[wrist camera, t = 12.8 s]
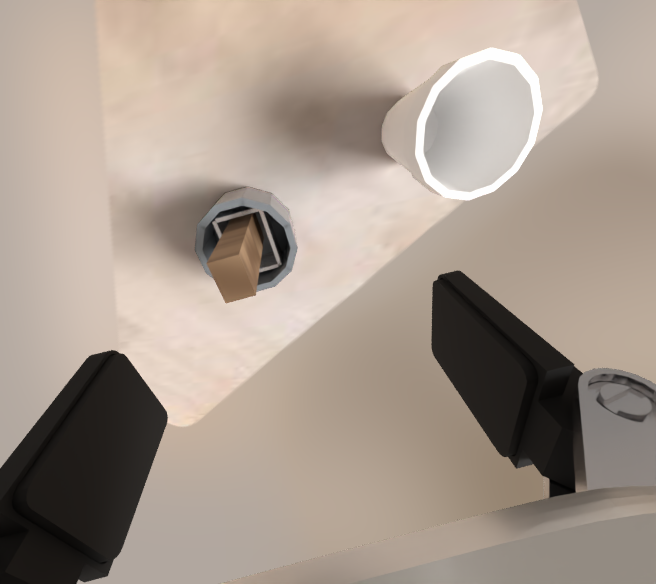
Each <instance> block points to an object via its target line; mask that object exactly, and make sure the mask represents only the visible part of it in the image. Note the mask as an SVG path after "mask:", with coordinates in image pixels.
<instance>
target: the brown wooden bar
mask: <svg viewBox="0 0 656 584" xmlns="http://www.w3.org/2000/svg"><path fill="white" fill-rule="evenodd" d="M263 242H264V236H263V233H262V230H261V227H260V225H259V222H258V219H257V216H256V213H255V212H254V213H251V214H247V215H243V216H240V217H236V218H233V219H230V221H229V223H228V225H227V227H226V229H225V230H224V232H223V234H222V236H221V238H220V240H219V241H218V243H217V245H216V247H215V249H214V250H213V252H212V254H211V256H210V258H209V260H208V261H207V263H206V264H207V266H208V268H209V270H210V272H211V274H212V276H213V278H214V280H215V282H216V284H217V286H218V288H219V290H220V292H221V294H222V296H223V298H224V301H225V303H229V302H233V301H236V300H240V299H244V298H247V297H251V296H255V295H256V290H257V283H258V277H259V270H260V263H261V256H262V249H263Z"/></svg>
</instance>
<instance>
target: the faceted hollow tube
mask: <svg viewBox="0 0 656 584" xmlns="http://www.w3.org/2000/svg"><path fill="white" fill-rule="evenodd" d="M239 206H247V207H251V208H255V209H258V210H262V211H266V212H268V213H269V216H270V219H271V222H272V225H273V228H274V231H275V234H276V237H277V240H278V243H279V245H280V248H281V251H282V265H279V267H278V268H274V269H270V270H267V271H263V272H259V277H258V283H257V290H256V292H257V291H261V290H264V289H268V288H272V287H275V286H276V285H277V284H278V283H279V282H280V281H281V280H282V279H284V278H285V277H286V276H287V275H288V274H289V273H290V272H291V271H292V268H293V264H294V260H295V256H296V252H297V249H298V247H297V241H296V234H295V229H294V226H293V222H292V219H291V216H290V212H289V209H288V208H286V207H285V206H284V205H283V204H282V203H281V202H280V201H279V200H278V199H277V198H276V197H275V196H274V195H273V194H272V193H269V192H266V191H262V190H258V189H255V188H251V187H245V188H241V189H237V190H234V191H230V192H226V193H224V195H223V196H222V197H221V198H220V199H219V200H218V202H217V203H216V204H215V205H214V206H213V207H212V208H211V210H210V211H209V212H208V213H207V214H206V215H205V217H204V218H203V219H202V220H201V221H200V222H199V223H198V225H197V233H196V243H195V252H196V254H197V256H198V258H199V260H200V262H201V264H202V266H203V268H204V270H205V272H206V273H207V274H208V275H209V276H211V277H212V278H213V276H212V274H211V272H210V270H209V268H208V266H207V264H206V263H207V261H208V260H209V258H210V256H211V254H212V252H213V250H214V249H215V247H216V245H217V243H218V241H219V240H220V239H219V237H218V234H217V232H216V230H215V228H214V225H213V223H212V221H213V220H214V219H215V217H216V216H217V214H218V213H219V212H221V211H224V210H228V209H232V208H235V207H239ZM255 213H256V216H257V219H258V222H259V225H260V227H261V230H262V233H263V236H264V242H263V249H262V255H265V254H269V253H272V252H273V249H272V246H271V244H270V241H269V238H268V235H267V232H266V230H265V227H264V224H263V221H262V218H261V215H260V213H259V211H258V212H255ZM226 221H227V223H229V221H230V219H229V220H226Z"/></svg>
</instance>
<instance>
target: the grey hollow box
mask: <svg viewBox="0 0 656 584" xmlns="http://www.w3.org/2000/svg"><path fill="white" fill-rule="evenodd" d="M258 211H259V213H260V215H261V218H262V221H263V224H264V227H265V230H266V232H267V235H268V238H269V241H270V244H271V246H272V249H273V252H272V253H269V254H265V255H262V256H261V263H260V270H259V272H263V271H267V270H270V269H274V268H278V267H279V265H282V251H281V248H280V245H279V243H278V240H277V237H276V234H275V231H274V228H273V225H272V222H271V219H270V216H269V213H268V212H266V211H262V210H258V209H255V208H251V207H247V206H239V207H235V208H232V209H228V210H224V211H221V212H219V213H218V214H217V216H216V217H215V219H214V220H213V221H212V223H213V225H214V228H215V230H216V232H217V234H218V237H219V239H220V238H221V236H222V234H223V232H224V230H225V229H226V227H227V225H228V223H227V221H226V220H229V219H233V218H236V217H240V216H243V215H247V214H251V213H254V212H258Z"/></svg>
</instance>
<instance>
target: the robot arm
mask: <svg viewBox="0 0 656 584" xmlns="http://www.w3.org/2000/svg"><path fill="white" fill-rule="evenodd" d="M432 300H433V301H432V352H433V354H434V356H435V358H436V360H437V361H438V363H439V364H440V366H441V367H442V369H443V370H444V372H445V373H446V375H447V376H448V378H449V379H450V381H451V382H452V383H453V385H454V387H455V388H456V390H457V391H458V392H459V394H460V395H461V397H462V399H463V400H464V402H465V403H466V405H467V406H468V408H469V409H470V410H471V412H472V414H473V415H474V417H475V418H476V419H477V421H478V423H479V424H480V426H481V427H482V428H483V430H484V431H485V433H486V434H487V436H488V437H489V439H490V441H491V442H492V444H493V445H494V446H495V448H496V449H497V451H498V452H499V453H500V454H501V455H502V456H503V457H509V459H510V460H511V462H512V463H513V465H514V466H515V467H516V468H521V467H524V466H528V465H532V464H534V465H535V466H536V468H537V469H538V470H539V472H540V473H541V475H542V476H544V499H543V500H539V501H535V502H530V503H526V504H522V505H518V506H514V507H510V508H506V509H502V510H497V511H493V512H489V513H485V514H481V515H477V516H473V517H469V518H465V519H461V520H457V521H454V522H450V523H446V524H443V525H438V526H435V527H431V528H427V529H423V530H420V531H416V532H412V533H408V534H404V535H400V536H397V537H393V538H389V539H385V540H382V541H377V542H374V543H370V544H366V545H362V546H358V547H355V548H351V549H348V550H343V551H340V552H336V553H332V554H328V555H325V556H321V557H317V558H313V559H310V560H306V561H302V562H299V563H295V564H291V565H288V566H284V567H280V568H276V569H273V570H269V571H265V572H262V573H257V574H254V575H250V576H246V577H243V578H239V579H235V580H232V581H228V582H224V583H220V584H656V384H654V383H652V382H651V381H649V380H647V379H645V378H642V377H640V376H638V375H636V374H632V373H629V372H625V371H622V370H617V369H609V368H598V369H592V370H589V371H586V372H584V373H582V372H581V371H579V370H578V369H577V368H575V367H574V364H573V363H572V362H571V361H570V360H568V359H567V358H566V357H564V356H563V355H562V354H561V353H560V352H558V351H557V350H556V349H555V348H554V347H552V346H551V345H550V344H549V343H548V342H546V341H545V340H544V339H543V338H541V337H540V336H539V335H538V334H537V333H535V332H534V331H533V330H532V329H531V328H529V327H528V326H527V325H526V324H524V323H523V322H522V321H520V319H518V318H517V317H516V316H515V315H513V314H512V313H511V312H510V311H508V310H507V309H506V308H505V307H504V306H503V305H501V304H500V303H499V302H498V301H496V300H495V299H494V298H493V297H491V296H490V295H489V294H488V293H487V292H485V291H484V290H483V289H482V288H480V287H479V286H478V285H477V284H476V283H474V282H473V281H472V280H471V279H469V278H468V277H467V276H466V275H465V274H463V273H462V272H461V271H454V272H450V273H445V274H441V275H439V276H438V280H436V281H434V282H433V297H432ZM167 419H168V417H167V412H166V410H165V409H164V407H163V406H162V405H161V403H160V402H159V400H158V399H157V398H156V396H155V395H154V394H153V392H152V391H151V389H150V388H149V387H148V385H147V384H146V383H145V381H144V380H143V379H142V377H141V376H140V374H139V373H138V372H137V370H136V369H135V368H134V366H133V365H132V363H131V362H130V361H129V359H128V358H127V357H126V356H125V355H124V354H120V353H119V352H117V351H113V350H111V351H107V352H103V353H99V354H94V355H91V356H89V357H88V358H87V359H86V360H85V362H84V363H83V364H82V365H81V367H80V368H79V369H78V371H77V372H76V373H75V374H74V376H73V377H72V378H71V379H70V381H69V382H68V383H67V385H66V386H65V387H64V388H63V390H62V391H61V392H60V393H59V395H58V396H57V397H56V398H55V400H54V401H53V402H52V404H51V405H50V406H49V408H48V409H47V410H46V411H45V413H44V414H43V415H42V416H41V418H40V419H39V420H38V421H37V423H36V424H35V425H34V426H33V428H32V429H31V430H30V431H29V433H28V434H27V435H26V437H25V438H24V439H23V440H22V442H21V443H20V444H19V445H18V447H17V448H16V449H15V450H14V452H13V453H12V454H11V456H10V457H9V458H8V459H7V461H6V462H5V463H4V465H3V466H2V467H1V468H0V584H76V583H77V581H78V579H79V580H81V581H83V582H87V581H91V580H95V579H99V578H102V577H106V576H108V573H109V571H110V568H111V565H112V563H113V560H114V559H115V558H116V557H117V556H118V555H119V553H120V552H121V549H122V547H123V544H124V542H125V539H126V536H127V533H128V530H129V528H130V524H131V522H132V519H133V516H134V513H135V511H136V508H137V505H138V502H139V499H140V497H141V494H142V491H143V488H144V486H145V483H146V480H147V477H148V474H149V472H150V469H151V466H152V463H153V460H154V458H155V455H156V452H157V449H158V447H159V444H160V441H161V438H162V435H163V432H164V429H165V427H166V424H167Z"/></svg>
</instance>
